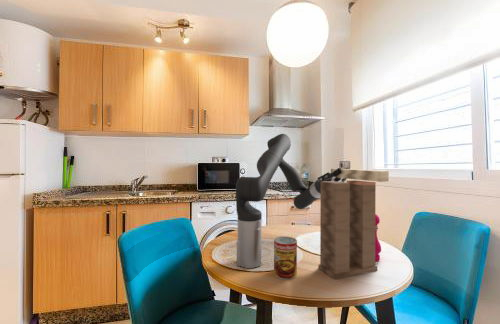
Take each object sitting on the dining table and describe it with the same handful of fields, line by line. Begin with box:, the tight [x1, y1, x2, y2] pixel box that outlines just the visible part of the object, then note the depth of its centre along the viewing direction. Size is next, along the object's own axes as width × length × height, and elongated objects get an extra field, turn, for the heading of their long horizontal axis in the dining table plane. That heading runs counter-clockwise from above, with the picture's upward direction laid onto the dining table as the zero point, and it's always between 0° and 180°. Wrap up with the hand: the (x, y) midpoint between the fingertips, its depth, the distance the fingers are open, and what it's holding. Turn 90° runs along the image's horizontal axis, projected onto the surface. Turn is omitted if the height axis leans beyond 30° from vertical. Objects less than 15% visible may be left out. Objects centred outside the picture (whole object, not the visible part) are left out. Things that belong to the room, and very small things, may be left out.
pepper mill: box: [375, 213, 382, 262], centre depth 100 cm, size 7×7×20 cm
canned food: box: [273, 235, 298, 280], centre depth 86 cm, size 8×8×12 cm
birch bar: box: [330, 168, 390, 183], centre depth 94 cm, size 24×4×4 cm, turn 22°
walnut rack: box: [317, 179, 378, 280], centre depth 90 cm, size 9×19×32 cm, turn 112°
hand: (344, 169), depth 99 cm, fingers closed on birch bar, 3 cm apart
